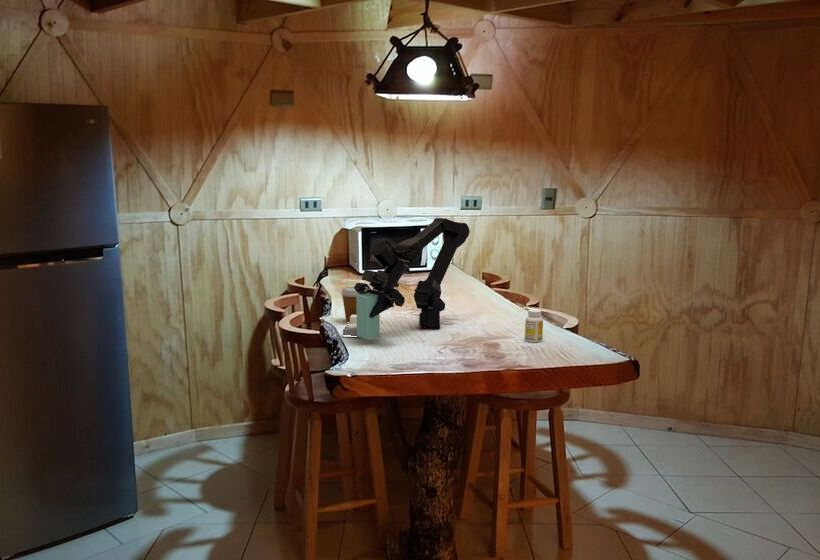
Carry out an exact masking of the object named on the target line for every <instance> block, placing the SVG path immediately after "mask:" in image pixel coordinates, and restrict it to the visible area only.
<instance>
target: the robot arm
mask: <svg viewBox="0 0 820 560" xmlns="http://www.w3.org/2000/svg"><path fill="white" fill-rule="evenodd" d="M470 233H471V231H470V227H469V224H467V223H466V222H458V221H454V220H451V219H448V218H443V217H436V218H434V219H433V221H432V222H431V223H430V224H428V225H427V226H426V227H424V228H423V229H422V230H421V231H419V232H418V233H417V234H416V235H414V237H411V238H408V239H405V240H402V241H401V242H399V243H397V244H396V245H395V246H392V245H391V243H390V241H389V240H388V239H385V238H383V239H382V240H381V241H380V242H378V243H376V244H375V245H373V246H372V247H371V249H370V255H371V256H372V257H373V258H374V259H375V261H376V263H378V264H379V266H381V267H384V269H383V270H382V269H381V270H380V269H378V270H377V271H374V270H368V269H364V271H363V274H362V277H361V280H362V281H366V282H368V283H369V285H368V283H366V282H356V284H355V285H354V286H353V287H354V289H355V290H356V291H357V292H358V293H359V294H366V293H371V294H376V295H378V300H377V302H376V304H375V306H374V308H373V309H372V311H371V313H370V315H369V317H370V318H373V317H375V316H376V315H378V314H382V313H384V312H385V311H387V310H389V309H391V308H394V307H395V306H397V307H403V306H404V305H405V302H406V298H405V296H404V295H403V294H402V293H401V292H400V291H399V289H398V288H399V286H400V283H399V281H400V280H401V278H402V276H403V275H404V274H405V275H406V274H409V275H410V274H411V269H410V265H408V264H406V263H408V262H409V263H414V262H416V261H417V260H418V259H419V258H420V257H421V255H422V254H423V250H424V249H425V248H426V246H428V245H429V244H430V243H432V242H433V241H435V239H436V238H438V237H439V236H440V235H442V240H443V244H442V246H441V247H440V249H439V251H438V254H437V256H436V258H435V261H434V262H433V265H432V267H431V269H430V272H429V274H428V275H427V278H426V279H425V280H419V281H418V282H417V284H416V287H415V289H414V290H413V291H414V293H413V299H414V302H415V306H416V308H417V309H418V310H420V313H419V315H418V317H419V318H418V319H419V321H418V322H419V325H418V326H419V327H420V328H421V330H422V329H423V330H440V329H441V312H442V311H445V310H446V309H445V308H446V303H445V301H444V300H443V299H442V298H441V295H442V288H441V287H442V285H441V284H442V282H443V280H444V278H445V275H446V273H447V271H448V269H449V267H450V264H451V263H452V259H453V257H454V256H455V254H456V251H457V249H458V248H459V247H461V246H462V245H463V244H464V243H465V242H466V241H467V239H468V237H469V235H470ZM405 262H406V263H405Z"/></svg>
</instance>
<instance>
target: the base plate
mask: <svg viewBox="0 0 820 560" xmlns="http://www.w3.org/2000/svg"><path fill="white" fill-rule="evenodd" d="M343 335H351V336H357V315H351V316H350V322H349V323H346V325H345V327H344V328H343V329H342V336H343Z"/></svg>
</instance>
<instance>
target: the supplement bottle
mask: <svg viewBox="0 0 820 560" xmlns="http://www.w3.org/2000/svg"><path fill="white" fill-rule="evenodd" d="M524 321H525V323H524V327H525V328H524V330H525V331H524V340H525V341H526V342H529V343H541V342H542V341H543V329H544V319H543V317H542V310H541V309H539V308H533V309H532V308H530V309H528V310H527V316H526V317H525V320H524Z"/></svg>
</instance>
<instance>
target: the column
mask: <svg viewBox="0 0 820 560" xmlns="http://www.w3.org/2000/svg"><path fill="white" fill-rule="evenodd" d="M377 300H378V295H376V294H371V293H366V294H360V295H356V308H357V337H361V338H360V339H365V340H370V339H371V340H372V339H375V338H379V337H380V336H381V334H380V333H381V332H380V331H381V327H380V326H381V325H380V324H381V321H380V320H381V319H380V318H381V315H380V314H381V313H380V314H378V315H376V316H375V317H373V318H370V317H369V315H370V313H371V311H372V309H373V308H374V306H375V304H376V302H377Z"/></svg>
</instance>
